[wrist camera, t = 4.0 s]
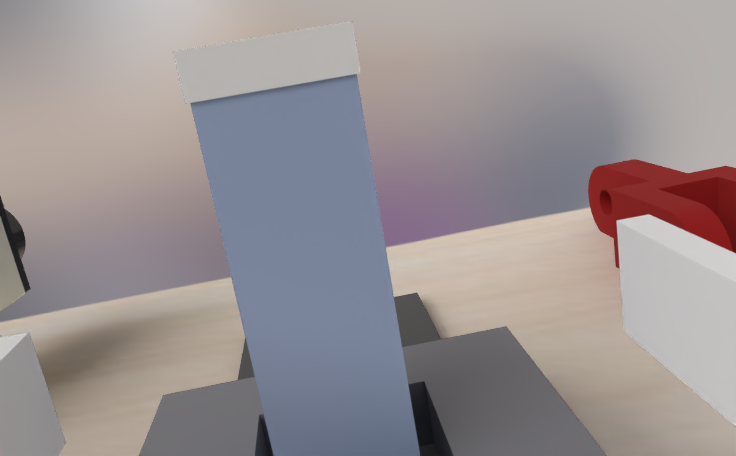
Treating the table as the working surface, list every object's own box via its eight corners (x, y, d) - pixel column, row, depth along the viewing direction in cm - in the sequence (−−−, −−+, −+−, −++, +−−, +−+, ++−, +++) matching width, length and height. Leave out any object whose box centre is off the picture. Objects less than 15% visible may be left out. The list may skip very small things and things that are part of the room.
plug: (298, 578, 19) (172, 51, 15) (298, 487, 23) (199, 53, 19) (439, 548, 19) (352, 21, 15) (414, 462, 23) (340, 28, 19)
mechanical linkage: (836, 291, 32) (840, 192, 30) (700, 321, 31) (697, 221, 30) (653, 216, 47) (650, 148, 46) (559, 235, 46) (553, 167, 45)
